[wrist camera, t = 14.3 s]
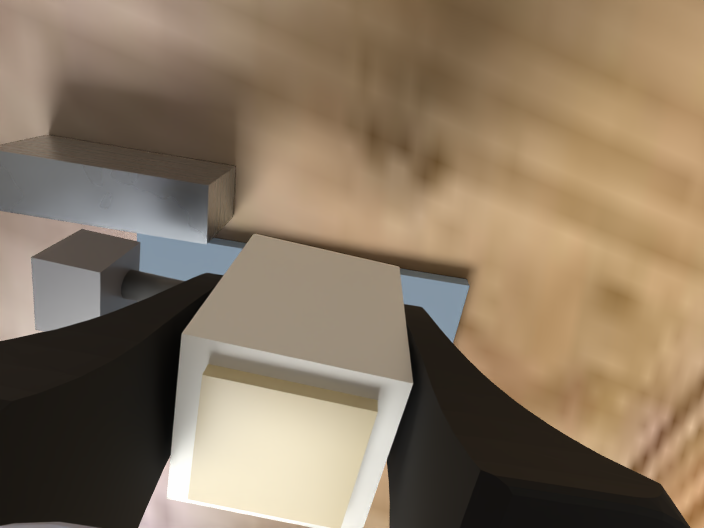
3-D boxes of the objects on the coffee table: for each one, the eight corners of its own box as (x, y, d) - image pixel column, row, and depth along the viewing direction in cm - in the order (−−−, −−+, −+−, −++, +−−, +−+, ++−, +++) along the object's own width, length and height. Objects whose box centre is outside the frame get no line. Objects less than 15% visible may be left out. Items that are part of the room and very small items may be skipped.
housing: (53, 187, 18) (-6, 209, 15) (18, -137, 14) (-71, -187, 11) (232, 216, 18) (206, 244, 15) (249, -97, 14) (218, -136, 11)
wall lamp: (82, 322, 14) (-80, 464, 9) (81, 193, 12) (-117, 280, 7) (364, 383, 14) (359, 551, 9) (399, 266, 12) (414, 395, 8)
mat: (147, 370, 21) (141, 378, 20) (144, 226, 18) (136, 231, 18) (428, 414, 21) (429, 423, 21) (466, 279, 18) (469, 285, 18)
